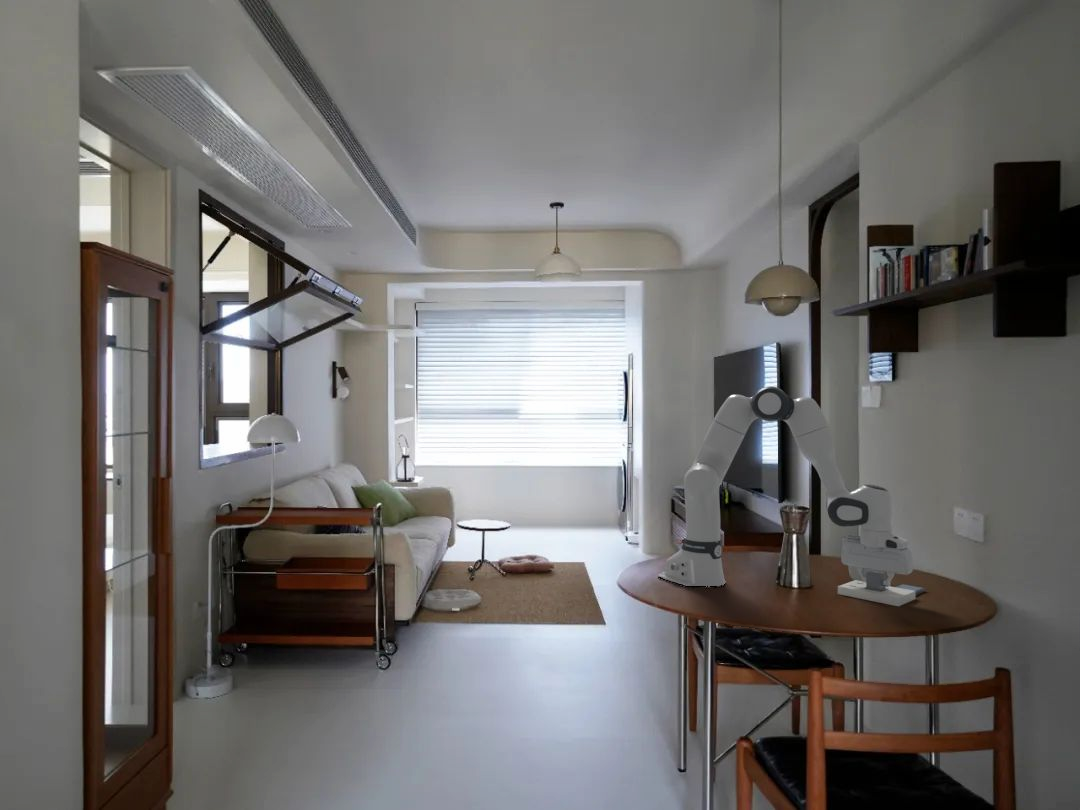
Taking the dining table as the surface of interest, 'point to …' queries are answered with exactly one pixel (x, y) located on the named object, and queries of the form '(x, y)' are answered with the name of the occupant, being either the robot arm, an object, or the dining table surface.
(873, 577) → the block
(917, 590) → the phone
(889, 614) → the dining table surface
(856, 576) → the grey rounded block
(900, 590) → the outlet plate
